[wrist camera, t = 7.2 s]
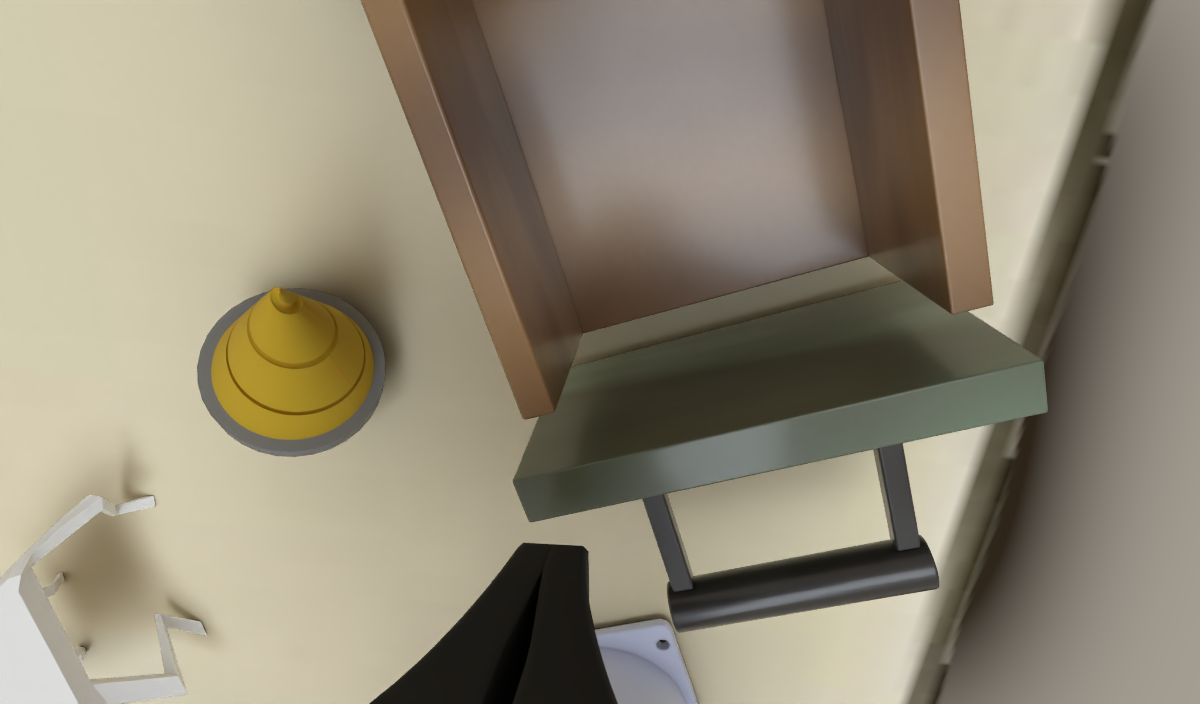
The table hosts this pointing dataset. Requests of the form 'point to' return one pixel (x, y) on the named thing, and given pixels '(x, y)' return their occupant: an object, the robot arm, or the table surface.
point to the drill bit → (291, 372)
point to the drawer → (717, 251)
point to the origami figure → (40, 645)
